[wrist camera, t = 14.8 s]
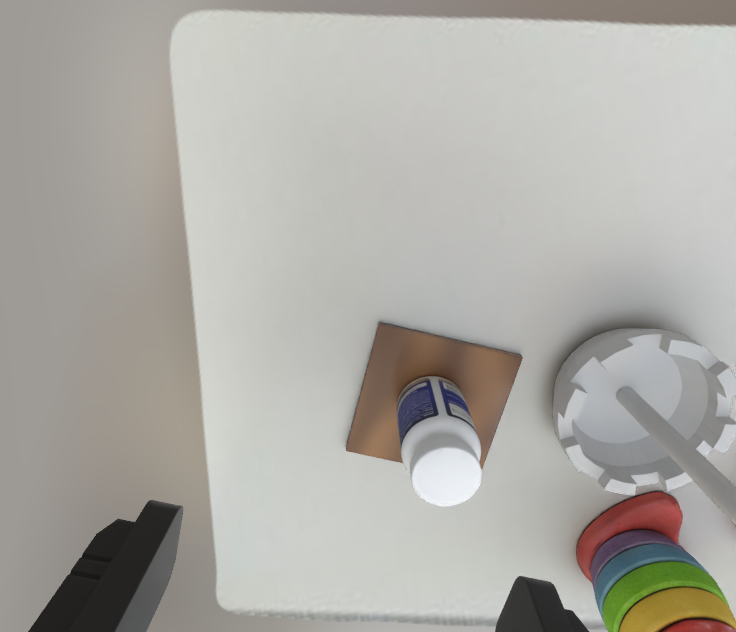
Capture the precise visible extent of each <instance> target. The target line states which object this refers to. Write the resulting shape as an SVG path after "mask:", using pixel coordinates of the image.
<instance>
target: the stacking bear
mask: <svg viewBox="0 0 736 632" xmlns="http://www.w3.org/2000/svg"><path fill="white" fill-rule="evenodd" d="M682 518H683V515H682V511H681V509H680V507H679V504H678V502H677V501H676V499H675V498H674V497H671V496H667V495H666V494H665V493H661V492H654V493H649V494H645V495H641V496H638V497H635V498H632V499H630V500H627V501H625V502H623V503H620V504H618V505H617V506H615V507H613V508H611V509H610V510H608V511H607V512H605V513H604V514H602V515H601V516H600V517H598V518H597V519H596V520H595V521H594V522H593V523H592V524H591V525H590V526H589V527H588V528H587V529H586V530H585V531H584V533H583V534H582V536H581V538H580V540H579V543H578V547H577V560H578V564H579V566H580V568H581V570H582V572H583V573H584V575H585V576H586V577H587V578H588V579H589V581H591V582H592V584H593V588H594V592H595V598H596V602H597V605H598V609H599V612H600V614H601V617H602V619H603V622H604V623H605V626H606V628H607V630H608V631H609V632H736V620H735V618H734V616H733V614H732V612H731V610H730V608H729V605H728V602H727V600H726V598H725V597H724V595H723V593H722V591H721V589H720V588H719V586H718V585H717V583H716V582H715V580H714V579H713V578H712V577H711V576H710V575H709V573H708V572H707V571H706V570H705V569H704V568H703V567H702V566H701V565H700V564H699V563H698V562H697V561H696V560H695V559H694V558H693V557H692V556H691V555H690V554H688V553H687V552H686V551H685V550H684V549H683V548H682V547H681V546H680V545H678V536H679V531H680V527H681V524H682Z"/></svg>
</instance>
